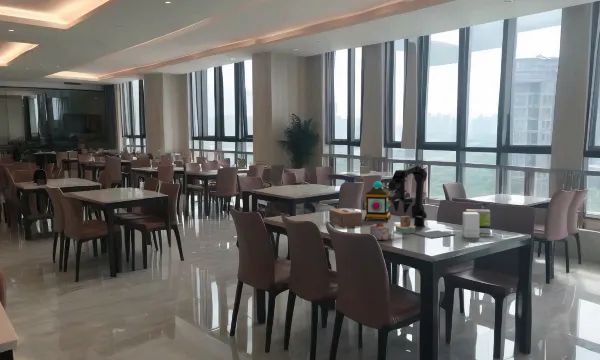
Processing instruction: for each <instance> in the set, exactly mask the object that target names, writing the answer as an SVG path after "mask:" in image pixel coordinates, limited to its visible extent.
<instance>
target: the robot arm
mask: <svg viewBox="0 0 600 360" xmlns="http://www.w3.org/2000/svg"><path fill="white" fill-rule="evenodd" d="M411 174H412V175H413V177H414V178H413V179H414V181H415V183H416V185H415V198H414V199H415V200H413V198H411V197H407V196H406V193H407V190H406V182H407V179H406V178H407V177H408V175H411ZM427 176H428V172H427V171H426V170H425V168H422V167H420V166H419V164H418V165H417V164H412V165H411V166H409V167H405V168H404V169H396V170H394V173H393V176H392V179H390V182H389V183H388V186H387V187H388V190H389V191H394V193H390V195H389V201H390V202H391V203H392V205H393V207H394V209H395V212H398V209H399V204H400V202H402V203H401V205H402V207H403V213H404V214H406V213H407V211H408V209H409V207H410V206H411V217H412V218H414V220H413V223H414V224H413V225H414V226H415V228H423V227H426V225H425V219H427V217H428V215H427V213H426V211H425V206H424V204H423V196H424V183H425V182H426V180H427V178H428V177H427ZM413 202H414V204H412V203H413ZM411 204H412V205H411Z"/></svg>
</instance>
